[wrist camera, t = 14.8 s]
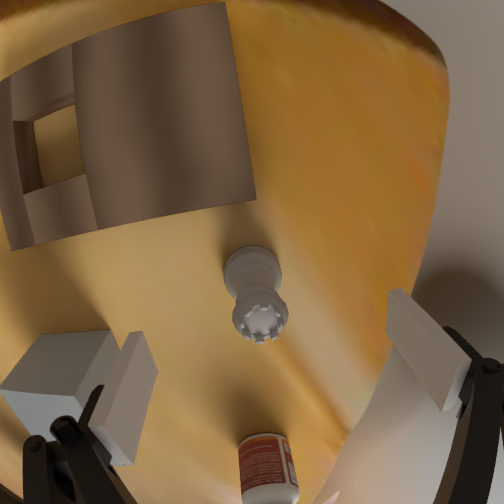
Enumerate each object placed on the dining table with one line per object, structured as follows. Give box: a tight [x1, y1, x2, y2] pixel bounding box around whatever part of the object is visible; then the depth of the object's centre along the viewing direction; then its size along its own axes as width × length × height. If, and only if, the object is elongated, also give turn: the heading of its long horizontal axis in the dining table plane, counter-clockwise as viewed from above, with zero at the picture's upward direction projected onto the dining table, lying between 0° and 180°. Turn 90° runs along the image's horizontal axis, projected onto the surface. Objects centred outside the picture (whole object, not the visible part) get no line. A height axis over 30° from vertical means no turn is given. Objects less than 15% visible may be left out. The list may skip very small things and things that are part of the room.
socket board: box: [0, 2, 257, 251], centre depth 18 cm, size 20×14×3 cm
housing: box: [0, 329, 125, 466], centre depth 22 cm, size 9×9×9 cm
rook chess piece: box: [223, 246, 289, 344], centre depth 20 cm, size 4×4×8 cm
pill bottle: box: [238, 433, 300, 504], centre depth 26 cm, size 6×6×11 cm
